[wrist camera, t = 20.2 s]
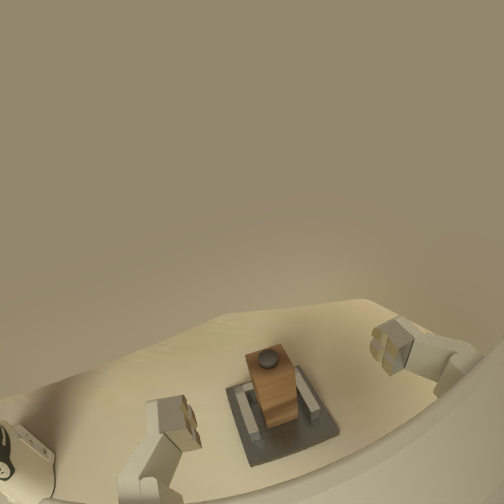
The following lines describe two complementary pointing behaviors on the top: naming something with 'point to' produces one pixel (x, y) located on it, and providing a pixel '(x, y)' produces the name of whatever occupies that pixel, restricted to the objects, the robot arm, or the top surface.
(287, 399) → the walnut toggle block
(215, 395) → the top surface
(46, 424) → the top surface
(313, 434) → the keeper bracket
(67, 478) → the top surface
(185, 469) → the top surface
